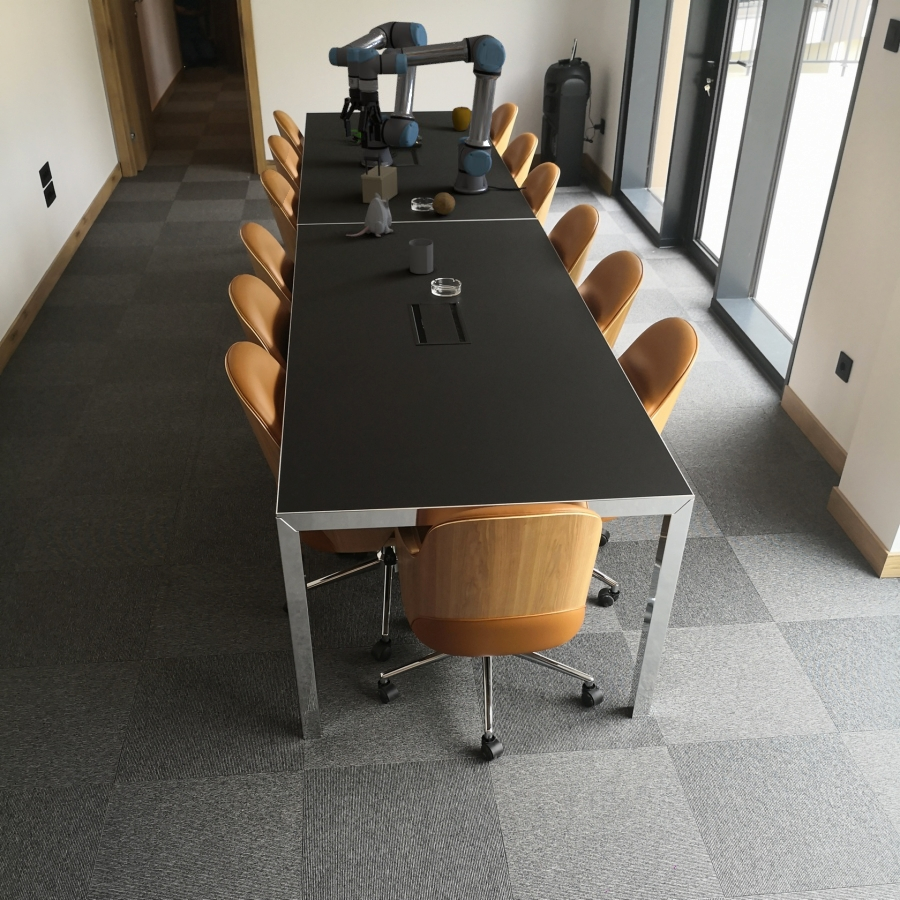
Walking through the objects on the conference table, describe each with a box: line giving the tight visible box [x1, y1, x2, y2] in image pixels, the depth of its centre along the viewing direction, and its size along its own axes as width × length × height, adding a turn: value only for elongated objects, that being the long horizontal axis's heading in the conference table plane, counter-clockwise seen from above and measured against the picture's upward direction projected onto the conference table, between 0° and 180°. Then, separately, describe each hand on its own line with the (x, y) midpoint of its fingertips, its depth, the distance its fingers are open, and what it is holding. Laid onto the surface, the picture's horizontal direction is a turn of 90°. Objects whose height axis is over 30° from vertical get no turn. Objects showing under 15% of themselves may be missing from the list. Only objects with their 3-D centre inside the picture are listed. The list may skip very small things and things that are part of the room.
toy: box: [346, 193, 394, 238], centre depth 334 cm, size 9×24×15 cm, turn 137°
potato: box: [431, 192, 456, 216], centre depth 360 cm, size 10×14×8 cm
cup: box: [408, 237, 434, 275], centre depth 305 cm, size 8×8×10 cm
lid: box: [360, 156, 398, 180], centre depth 373 cm, size 18×9×9 cm, turn 160°
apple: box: [451, 105, 472, 132], centre depth 487 cm, size 11×11×13 cm
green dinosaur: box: [343, 129, 361, 146], centre depth 465 cm, size 6×13×30 cm
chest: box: [361, 169, 398, 204], centre depth 379 cm, size 17×9×10 cm, turn 160°
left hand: (360, 138), depth 383 cm, fingers open, 13 cm apart
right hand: (371, 144), depth 363 cm, fingers open, 13 cm apart
